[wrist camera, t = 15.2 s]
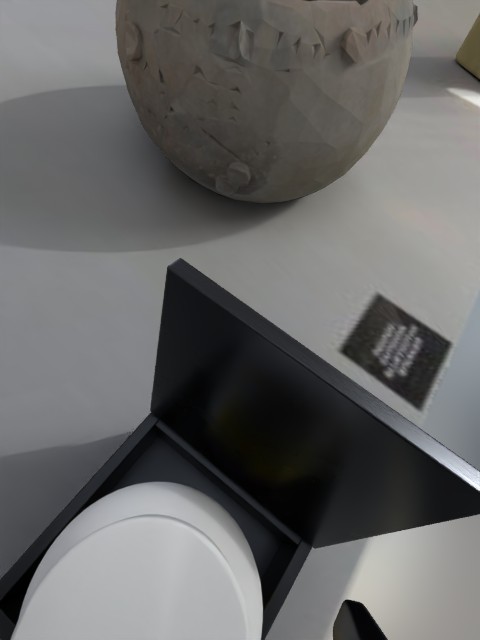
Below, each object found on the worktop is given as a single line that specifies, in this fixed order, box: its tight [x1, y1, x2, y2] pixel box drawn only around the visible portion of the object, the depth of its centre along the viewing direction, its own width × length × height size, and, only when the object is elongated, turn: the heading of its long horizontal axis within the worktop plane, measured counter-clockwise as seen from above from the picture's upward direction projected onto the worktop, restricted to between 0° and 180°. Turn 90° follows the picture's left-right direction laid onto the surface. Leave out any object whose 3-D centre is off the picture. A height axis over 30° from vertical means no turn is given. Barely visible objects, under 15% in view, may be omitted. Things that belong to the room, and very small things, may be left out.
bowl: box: [116, 0, 418, 203], centre depth 29 cm, size 23×23×15 cm
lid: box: [150, 258, 480, 548], centre depth 13 cm, size 11×10×1 cm
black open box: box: [0, 412, 312, 640], centre depth 17 cm, size 10×10×4 cm
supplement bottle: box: [11, 482, 263, 640], centre depth 12 cm, size 7×7×13 cm
